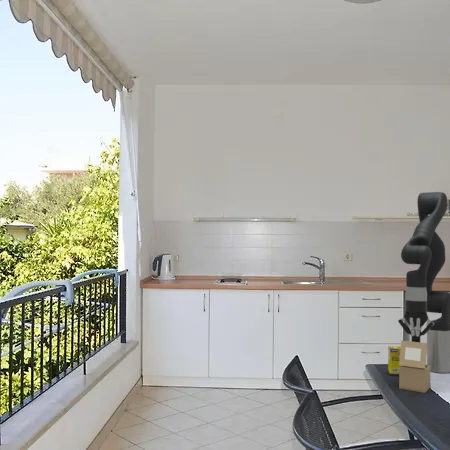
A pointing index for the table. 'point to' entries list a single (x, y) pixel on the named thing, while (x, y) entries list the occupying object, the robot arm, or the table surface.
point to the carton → (414, 378)
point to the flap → (413, 354)
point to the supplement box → (393, 360)
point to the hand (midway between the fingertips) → (415, 346)
